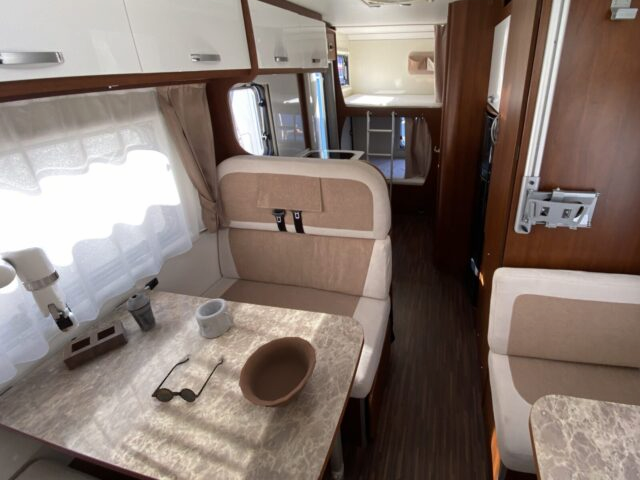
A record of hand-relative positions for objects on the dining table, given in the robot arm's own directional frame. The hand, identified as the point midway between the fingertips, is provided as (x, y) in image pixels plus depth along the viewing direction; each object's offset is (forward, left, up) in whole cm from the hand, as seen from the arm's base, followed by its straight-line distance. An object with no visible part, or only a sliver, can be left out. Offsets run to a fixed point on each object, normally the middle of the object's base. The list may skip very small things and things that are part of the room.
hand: (67, 322), depth 102 cm
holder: (+4, +1, -16) cm, 16 cm away
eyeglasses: (+26, -38, -16) cm, 49 cm away
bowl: (+46, -63, -16) cm, 80 cm away
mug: (+39, -22, -16) cm, 47 cm away
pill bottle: (0, 0, -3) cm, 3 cm away
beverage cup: (+19, 0, -16) cm, 24 cm away
